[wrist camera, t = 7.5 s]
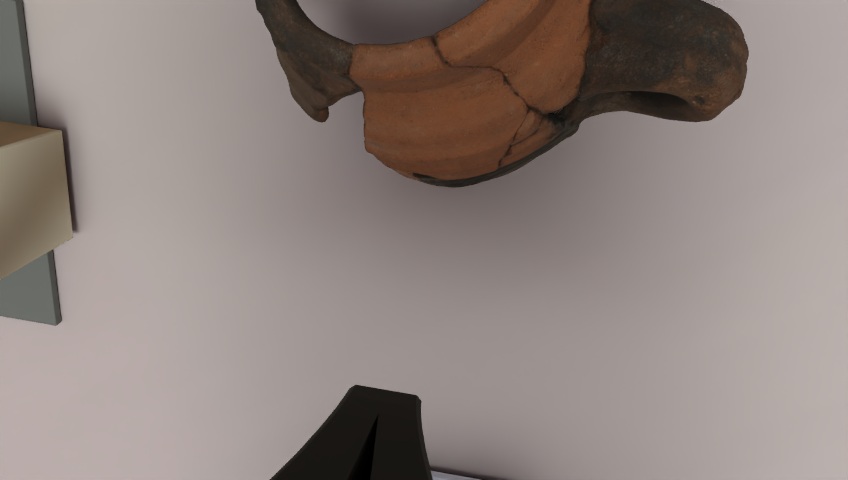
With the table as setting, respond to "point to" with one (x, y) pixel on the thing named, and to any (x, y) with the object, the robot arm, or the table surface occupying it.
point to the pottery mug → (514, 78)
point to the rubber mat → (14, 102)
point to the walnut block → (31, 194)
